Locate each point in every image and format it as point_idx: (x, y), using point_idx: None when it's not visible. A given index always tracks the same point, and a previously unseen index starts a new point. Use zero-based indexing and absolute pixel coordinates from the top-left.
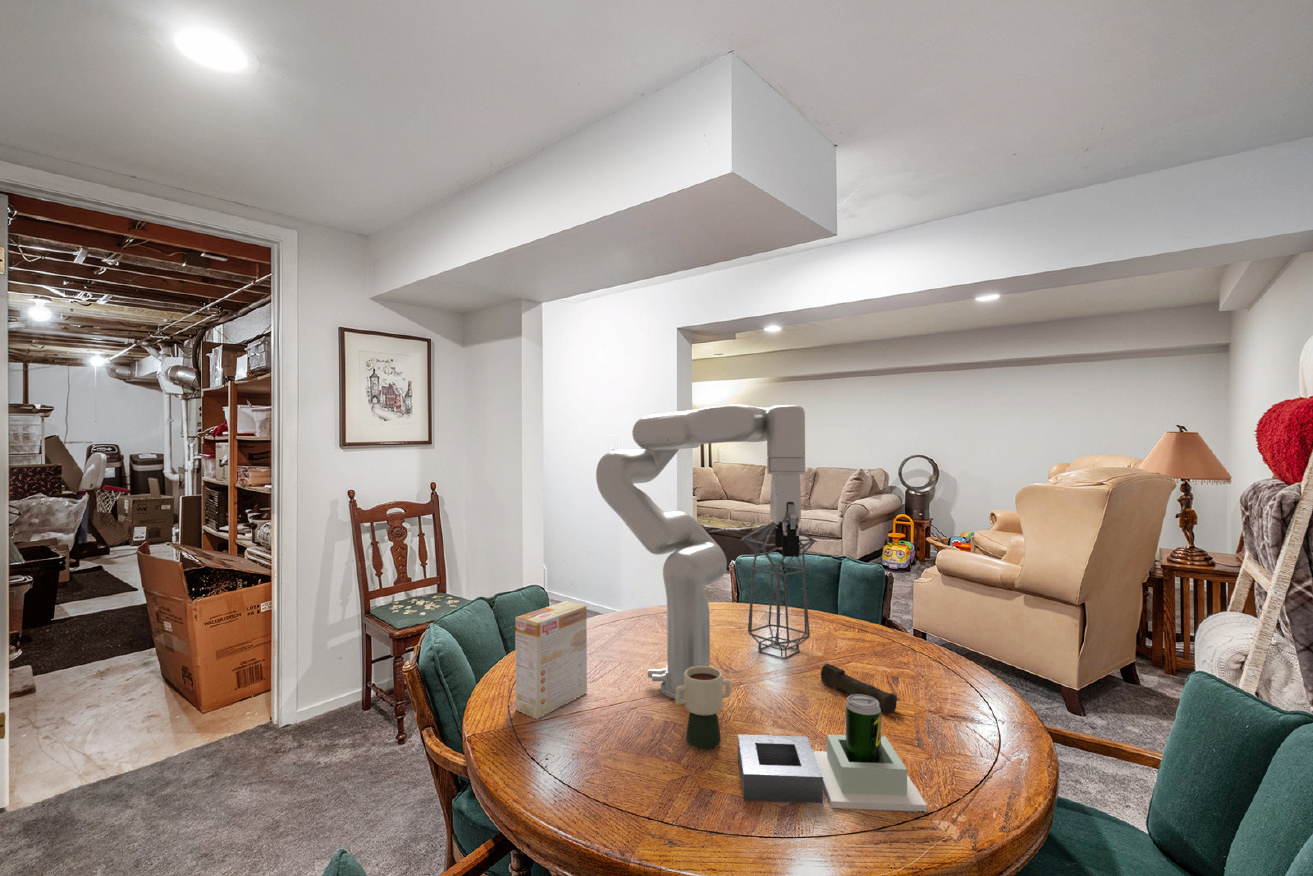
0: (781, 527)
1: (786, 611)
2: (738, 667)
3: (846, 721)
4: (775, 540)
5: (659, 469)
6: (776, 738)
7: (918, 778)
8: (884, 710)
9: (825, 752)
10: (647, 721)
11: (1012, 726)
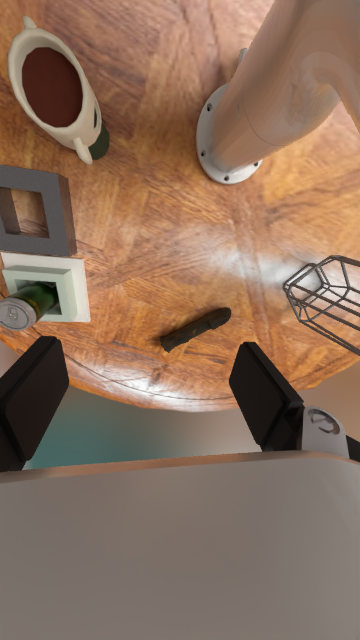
0: (280, 429)
1: (315, 308)
2: (278, 228)
3: (21, 292)
4: (257, 356)
5: None
6: (58, 221)
7: (67, 326)
8: (160, 337)
9: (81, 270)
10: (142, 41)
11: (145, 398)
